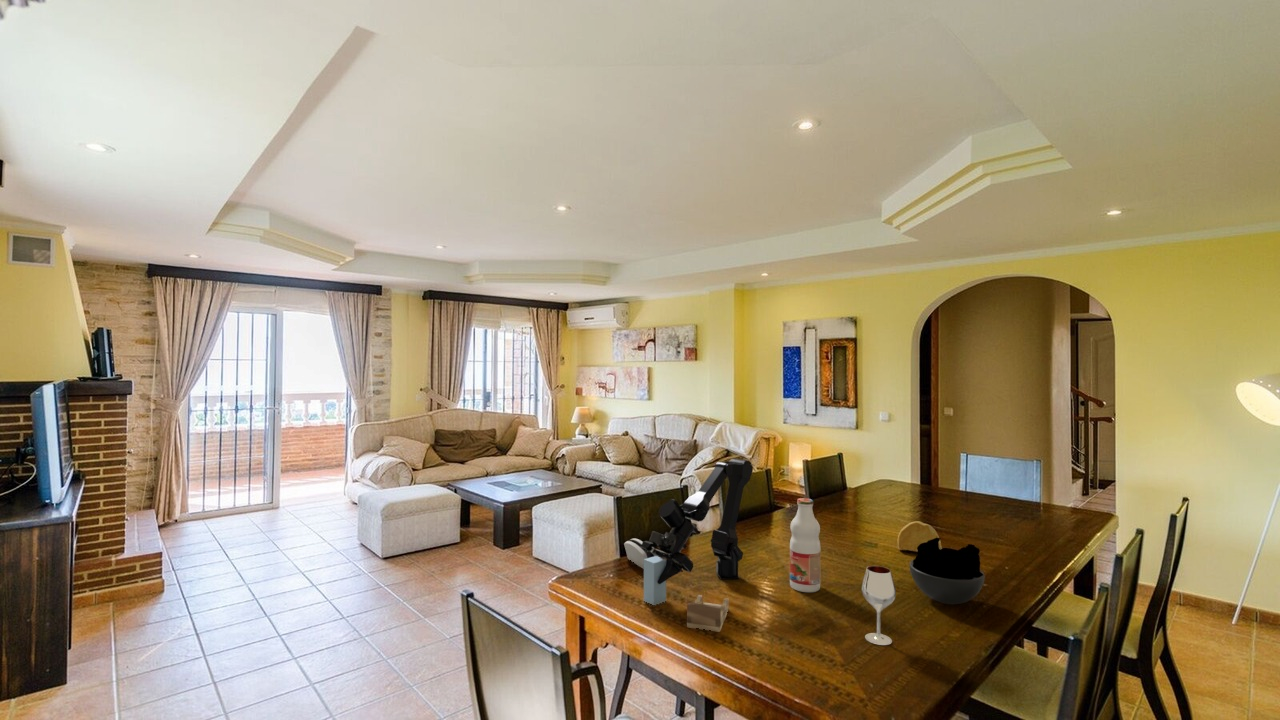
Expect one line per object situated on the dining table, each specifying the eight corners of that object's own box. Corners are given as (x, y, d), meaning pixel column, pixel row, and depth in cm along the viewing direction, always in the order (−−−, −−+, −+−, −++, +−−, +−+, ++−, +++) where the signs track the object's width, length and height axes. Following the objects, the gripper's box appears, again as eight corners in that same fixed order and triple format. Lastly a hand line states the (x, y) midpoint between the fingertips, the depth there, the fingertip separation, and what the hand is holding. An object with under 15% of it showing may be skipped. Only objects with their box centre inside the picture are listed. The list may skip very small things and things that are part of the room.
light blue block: (656, 597, 176) (656, 555, 176) (666, 601, 172) (666, 559, 172) (643, 601, 172) (643, 559, 172) (653, 606, 169) (653, 563, 169)
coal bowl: (894, 594, 179) (894, 533, 179) (940, 585, 186) (940, 527, 187) (952, 620, 160) (952, 553, 160) (1000, 609, 168) (1000, 544, 168)
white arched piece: (662, 570, 198) (654, 544, 197) (651, 577, 196) (642, 551, 195) (639, 556, 213) (631, 532, 212) (629, 562, 211) (621, 538, 209)
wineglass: (856, 632, 153) (856, 564, 153) (885, 631, 153) (885, 563, 153) (870, 647, 144) (871, 575, 145) (902, 646, 145) (902, 574, 145)
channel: (698, 605, 169) (698, 584, 169) (728, 609, 166) (728, 588, 167) (687, 627, 155) (687, 604, 155) (719, 632, 152) (719, 608, 153)
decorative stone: (903, 536, 234) (894, 513, 227) (944, 537, 226) (936, 513, 218) (902, 564, 225) (893, 541, 218) (945, 566, 217) (937, 543, 209)
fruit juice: (824, 593, 179) (824, 503, 180) (793, 593, 179) (794, 502, 180) (815, 582, 189) (815, 496, 189) (786, 581, 189) (786, 496, 189)
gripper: (644, 514, 182) (617, 557, 175) (686, 527, 168) (658, 574, 161) (663, 535, 187) (636, 577, 180) (705, 549, 173) (678, 595, 166)
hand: (651, 580), depth 171 cm, fingers open, 6 cm apart
